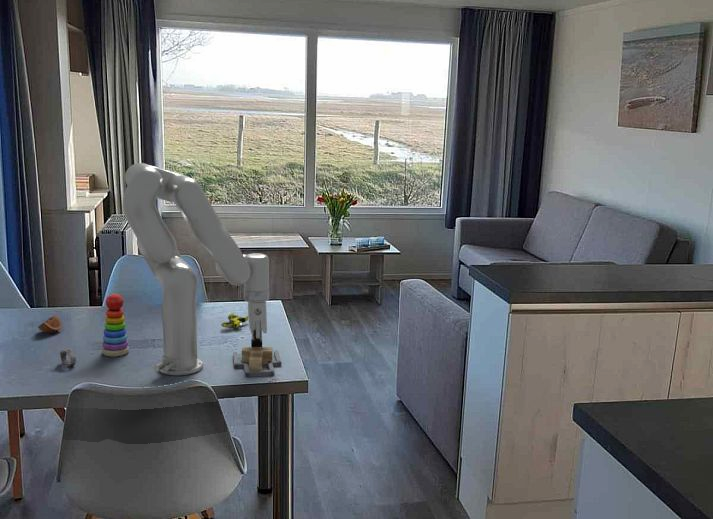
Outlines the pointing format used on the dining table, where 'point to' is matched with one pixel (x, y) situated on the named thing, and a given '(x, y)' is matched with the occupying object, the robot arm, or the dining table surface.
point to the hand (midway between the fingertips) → (256, 352)
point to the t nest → (258, 373)
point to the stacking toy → (115, 328)
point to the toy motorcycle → (234, 321)
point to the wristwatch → (70, 354)
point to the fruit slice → (51, 325)
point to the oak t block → (256, 357)
